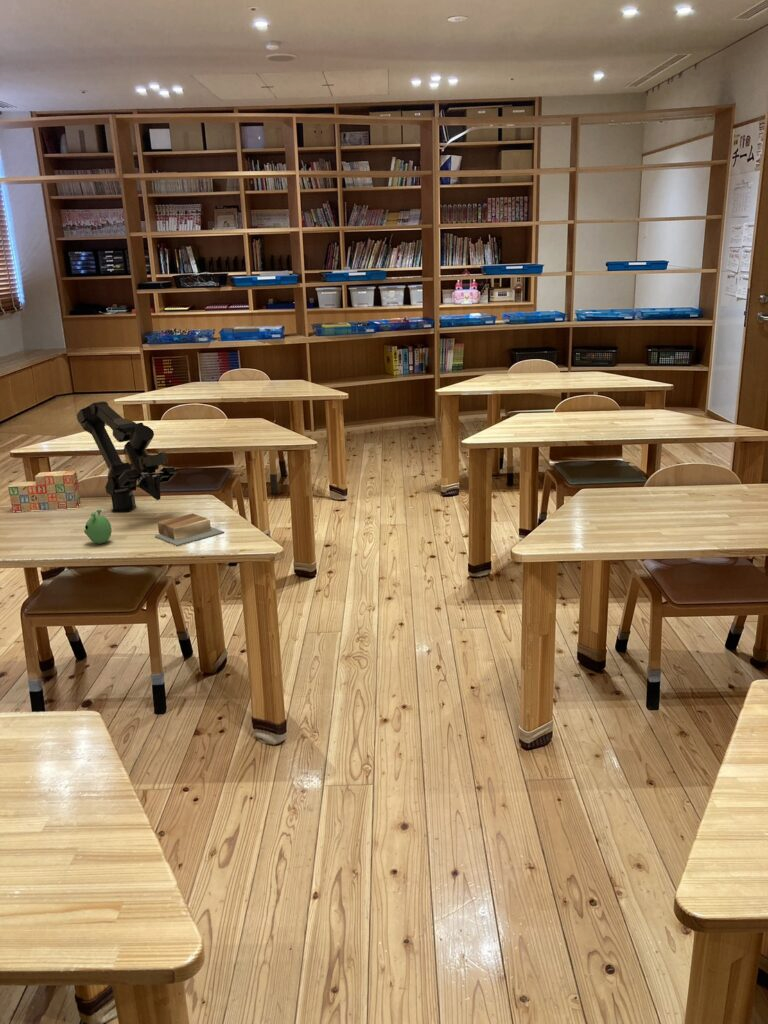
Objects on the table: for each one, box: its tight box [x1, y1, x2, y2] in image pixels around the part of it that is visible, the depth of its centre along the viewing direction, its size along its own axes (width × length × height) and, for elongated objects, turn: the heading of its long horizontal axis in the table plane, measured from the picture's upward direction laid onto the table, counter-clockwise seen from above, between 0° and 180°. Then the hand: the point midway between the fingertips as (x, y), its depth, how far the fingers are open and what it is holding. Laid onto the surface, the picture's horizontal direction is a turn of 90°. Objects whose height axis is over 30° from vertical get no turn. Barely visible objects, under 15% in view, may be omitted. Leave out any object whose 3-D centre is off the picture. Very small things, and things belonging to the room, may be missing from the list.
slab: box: [157, 513, 212, 540], centre depth 244 cm, size 4×12×10 cm
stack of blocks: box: [7, 470, 82, 511], centre depth 276 cm, size 21×6×12 cm, turn 96°
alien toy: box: [83, 508, 112, 545], centre depth 237 cm, size 7×8×10 cm
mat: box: [154, 526, 225, 547], centre depth 243 cm, size 13×16×1 cm
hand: (158, 499), depth 253 cm, fingers closed
